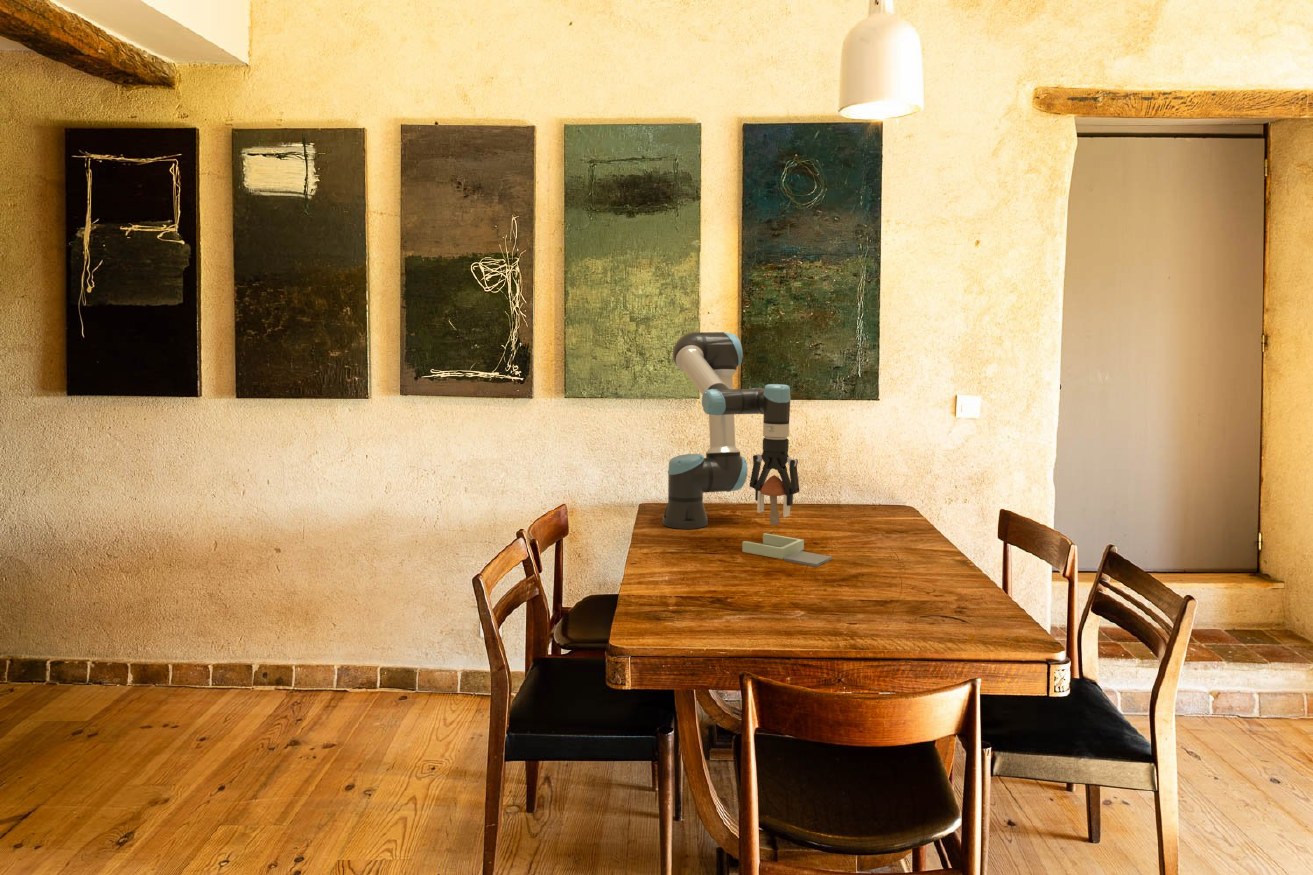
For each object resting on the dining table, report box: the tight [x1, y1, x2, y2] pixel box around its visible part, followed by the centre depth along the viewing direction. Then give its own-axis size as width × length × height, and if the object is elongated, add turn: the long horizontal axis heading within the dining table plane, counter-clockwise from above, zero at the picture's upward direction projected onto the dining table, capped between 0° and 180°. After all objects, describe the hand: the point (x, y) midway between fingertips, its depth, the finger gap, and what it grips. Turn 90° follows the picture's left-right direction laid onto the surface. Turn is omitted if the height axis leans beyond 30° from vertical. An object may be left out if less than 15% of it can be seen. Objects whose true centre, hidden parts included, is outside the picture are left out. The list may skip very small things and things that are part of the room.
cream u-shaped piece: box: [741, 533, 805, 560], centre depth 244 cm, size 13×13×3 cm
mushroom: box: [760, 474, 786, 526], centre depth 242 cm, size 8×8×15 cm
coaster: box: [783, 550, 833, 568], centre depth 234 cm, size 10×10×1 cm
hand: (773, 513), depth 243 cm, fingers closed on mushroom, 8 cm apart
